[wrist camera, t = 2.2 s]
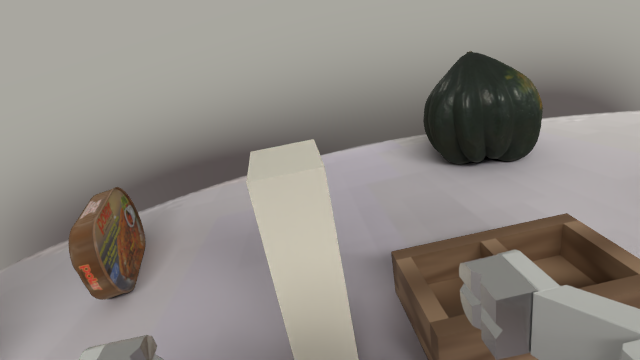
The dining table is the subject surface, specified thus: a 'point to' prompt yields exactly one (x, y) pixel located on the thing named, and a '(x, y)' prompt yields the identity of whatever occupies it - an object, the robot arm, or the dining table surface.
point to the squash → (483, 112)
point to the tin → (108, 244)
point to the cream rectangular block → (302, 249)
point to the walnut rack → (530, 238)
